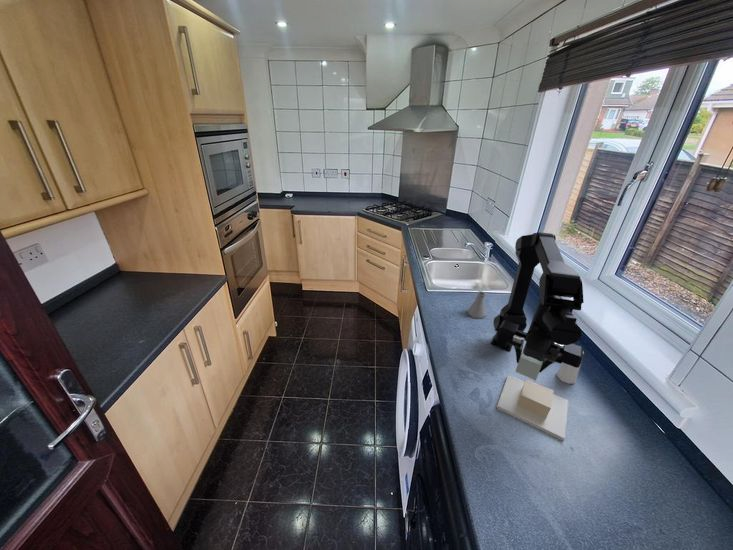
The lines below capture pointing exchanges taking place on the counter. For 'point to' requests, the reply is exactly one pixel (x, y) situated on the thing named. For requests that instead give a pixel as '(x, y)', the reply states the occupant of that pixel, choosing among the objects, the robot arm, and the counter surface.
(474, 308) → the flask
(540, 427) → the build base
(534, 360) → the sage cube
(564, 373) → the pepper shaker
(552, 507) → the counter surface
